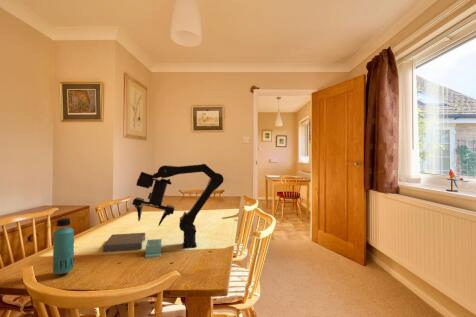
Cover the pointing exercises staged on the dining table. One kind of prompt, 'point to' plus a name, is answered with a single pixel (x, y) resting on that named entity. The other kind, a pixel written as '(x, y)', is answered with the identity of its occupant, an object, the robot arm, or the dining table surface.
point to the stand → (124, 242)
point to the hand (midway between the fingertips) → (148, 223)
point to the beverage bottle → (63, 247)
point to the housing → (153, 248)
